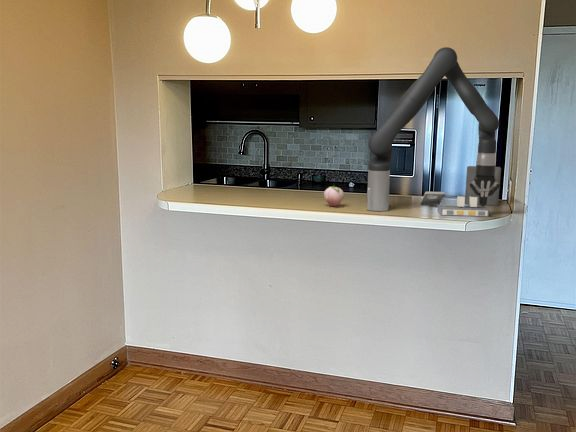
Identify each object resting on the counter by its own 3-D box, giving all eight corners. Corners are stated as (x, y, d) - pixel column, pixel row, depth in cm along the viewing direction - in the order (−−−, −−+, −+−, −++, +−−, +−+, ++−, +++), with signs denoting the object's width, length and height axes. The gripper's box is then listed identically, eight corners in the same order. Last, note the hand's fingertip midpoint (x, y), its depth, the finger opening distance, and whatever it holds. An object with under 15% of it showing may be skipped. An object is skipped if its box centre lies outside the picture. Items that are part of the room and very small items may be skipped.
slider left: (458, 206, 236) (458, 196, 235) (456, 205, 239) (457, 195, 238) (464, 206, 235) (465, 196, 235) (462, 205, 239) (463, 195, 238)
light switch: (438, 201, 262) (445, 189, 248) (439, 213, 260) (445, 202, 246) (420, 200, 263) (425, 189, 249) (420, 212, 261) (425, 202, 247)
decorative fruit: (347, 207, 251) (348, 185, 249) (332, 208, 247) (332, 186, 245) (335, 204, 259) (336, 182, 258) (320, 205, 255) (321, 183, 254)
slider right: (470, 206, 235) (471, 196, 234) (469, 205, 239) (469, 195, 238) (476, 207, 235) (477, 196, 234) (475, 205, 238) (475, 195, 237)
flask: (465, 204, 263) (468, 161, 260) (464, 202, 269) (467, 160, 265) (499, 206, 260) (502, 162, 257) (497, 204, 266) (500, 161, 262)
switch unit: (441, 215, 234) (441, 208, 233) (437, 211, 243) (437, 204, 243) (488, 217, 232) (489, 209, 231) (483, 212, 241) (483, 205, 241)
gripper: (471, 164, 230) (468, 206, 233) (504, 165, 229) (501, 207, 232) (467, 162, 237) (464, 203, 241) (500, 163, 236) (496, 204, 239)
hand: (482, 205), depth 236 cm, fingers closed
